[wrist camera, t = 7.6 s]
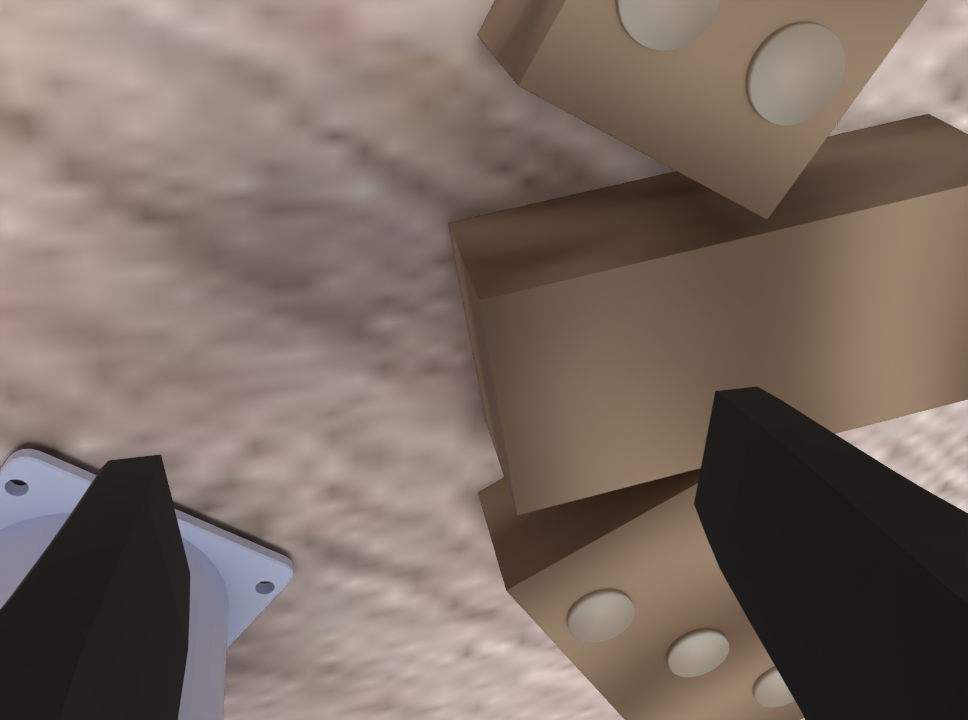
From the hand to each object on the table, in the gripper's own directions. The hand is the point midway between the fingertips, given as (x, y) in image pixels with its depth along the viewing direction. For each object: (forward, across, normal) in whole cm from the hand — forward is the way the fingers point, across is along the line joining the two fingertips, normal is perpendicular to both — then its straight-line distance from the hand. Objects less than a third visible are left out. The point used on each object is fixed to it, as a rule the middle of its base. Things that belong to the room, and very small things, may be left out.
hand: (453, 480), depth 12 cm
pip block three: (+10, -8, +13) cm, 18 cm away
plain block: (+10, -8, +3) cm, 13 cm away
